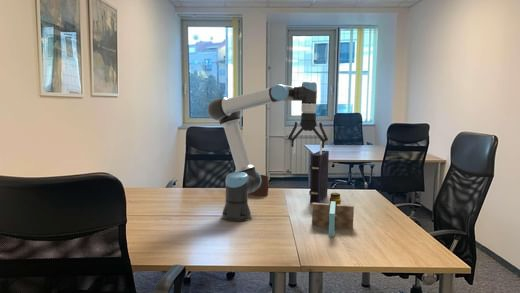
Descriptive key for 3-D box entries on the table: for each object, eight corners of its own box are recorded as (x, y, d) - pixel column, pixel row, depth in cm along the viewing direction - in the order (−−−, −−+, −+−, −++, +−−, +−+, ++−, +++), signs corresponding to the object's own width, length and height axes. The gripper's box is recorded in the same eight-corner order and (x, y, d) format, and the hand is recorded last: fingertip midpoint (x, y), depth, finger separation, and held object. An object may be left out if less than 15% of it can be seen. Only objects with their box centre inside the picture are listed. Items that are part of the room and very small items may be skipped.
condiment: (343, 215, 209) (344, 194, 208) (332, 218, 204) (333, 196, 203) (334, 212, 215) (334, 191, 214) (322, 214, 210) (323, 193, 209)
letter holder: (267, 195, 252) (267, 174, 251) (237, 194, 254) (237, 173, 252) (268, 192, 262) (268, 172, 261) (239, 191, 264) (239, 171, 262)
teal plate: (330, 222, 194) (330, 201, 193) (334, 222, 194) (335, 201, 192) (328, 236, 175) (329, 213, 173) (333, 237, 175) (334, 213, 173)
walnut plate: (311, 225, 191) (312, 203, 190) (312, 223, 193) (312, 202, 192) (352, 228, 187) (353, 206, 186) (352, 227, 189) (353, 205, 188)
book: (318, 194, 258) (320, 150, 254) (327, 195, 255) (329, 150, 252) (309, 202, 236) (310, 154, 233) (319, 203, 234) (320, 155, 230)
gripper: (283, 112, 194) (282, 153, 196) (333, 113, 188) (331, 155, 191) (285, 112, 201) (284, 152, 203) (333, 112, 196) (332, 154, 198)
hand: (307, 153), depth 197 cm, fingers open, 13 cm apart
